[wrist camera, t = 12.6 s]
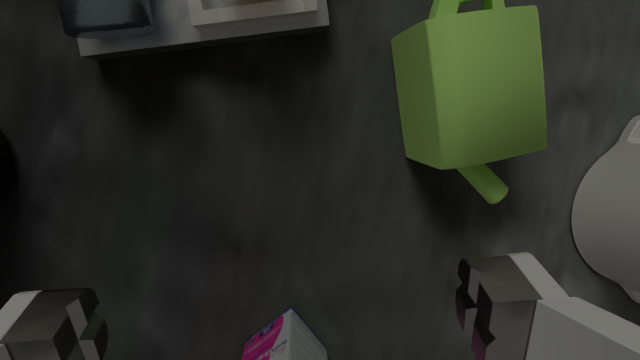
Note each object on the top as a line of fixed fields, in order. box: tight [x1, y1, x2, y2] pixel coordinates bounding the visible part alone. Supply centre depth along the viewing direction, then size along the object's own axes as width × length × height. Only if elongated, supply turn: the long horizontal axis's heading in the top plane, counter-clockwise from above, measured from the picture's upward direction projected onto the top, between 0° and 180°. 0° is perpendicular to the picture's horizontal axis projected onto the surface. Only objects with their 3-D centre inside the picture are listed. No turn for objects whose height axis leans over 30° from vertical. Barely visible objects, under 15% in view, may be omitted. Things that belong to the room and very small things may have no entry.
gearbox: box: [391, 0, 547, 204], centre depth 37 cm, size 18×10×10 cm, turn 9°
